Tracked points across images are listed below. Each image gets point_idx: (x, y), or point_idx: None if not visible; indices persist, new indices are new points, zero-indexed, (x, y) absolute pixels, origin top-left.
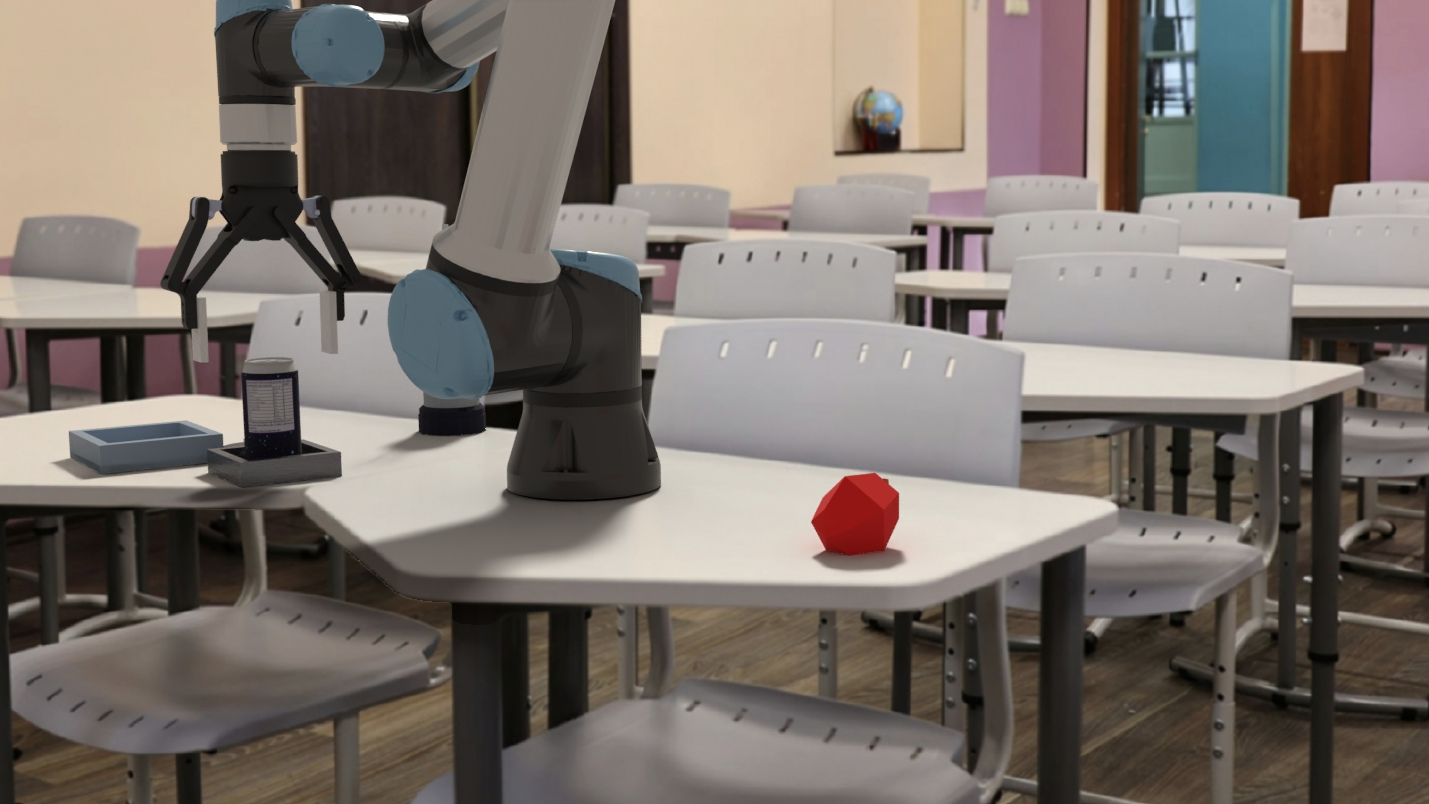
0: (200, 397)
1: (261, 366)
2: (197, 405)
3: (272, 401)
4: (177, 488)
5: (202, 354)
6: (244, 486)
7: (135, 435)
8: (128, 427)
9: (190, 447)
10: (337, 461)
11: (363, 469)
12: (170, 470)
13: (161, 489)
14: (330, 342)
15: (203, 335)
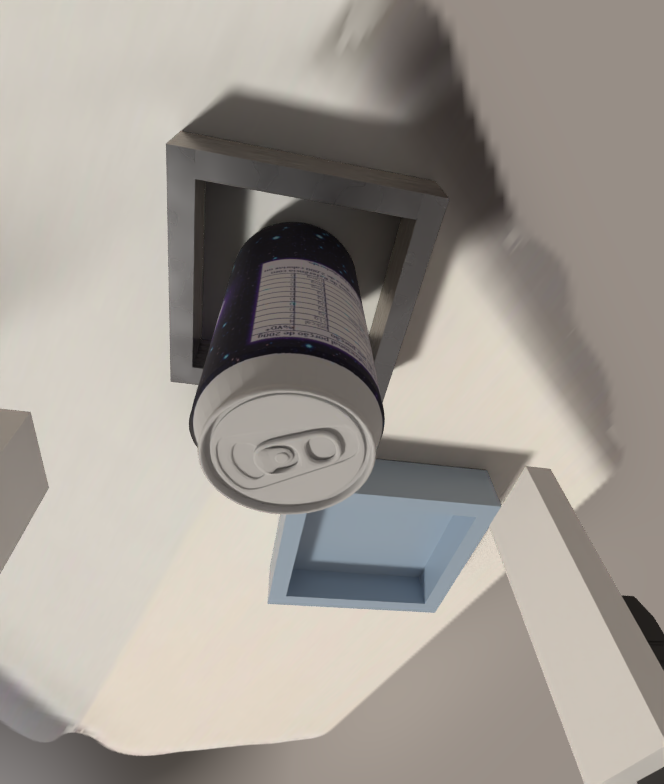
0: (115, 746)
1: (355, 402)
2: (136, 723)
3: (329, 307)
4: (511, 280)
5: (556, 491)
6: (428, 180)
7: (350, 587)
8: (361, 599)
9: None
10: (184, 140)
11: (96, 179)
12: (400, 436)
13: (534, 293)
14: (5, 450)
15: (584, 551)
